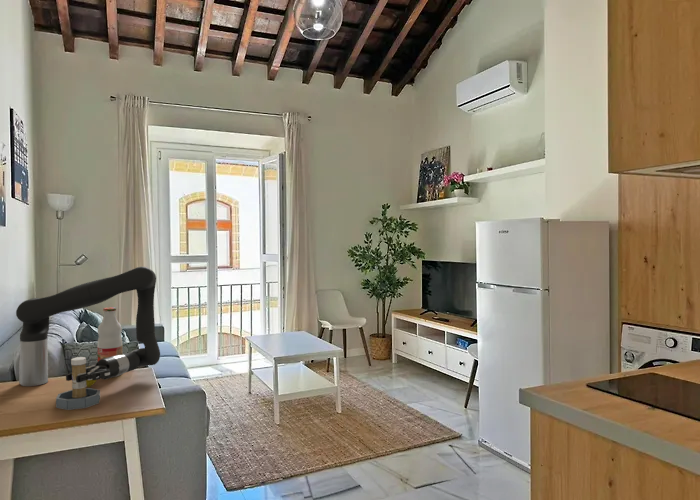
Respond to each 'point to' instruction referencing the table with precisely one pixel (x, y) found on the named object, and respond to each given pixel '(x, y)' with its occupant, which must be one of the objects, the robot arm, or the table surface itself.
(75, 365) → the spice jar
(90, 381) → the lemon
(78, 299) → the robot arm
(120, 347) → the fruit juice
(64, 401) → the bowl
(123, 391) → the table surface
